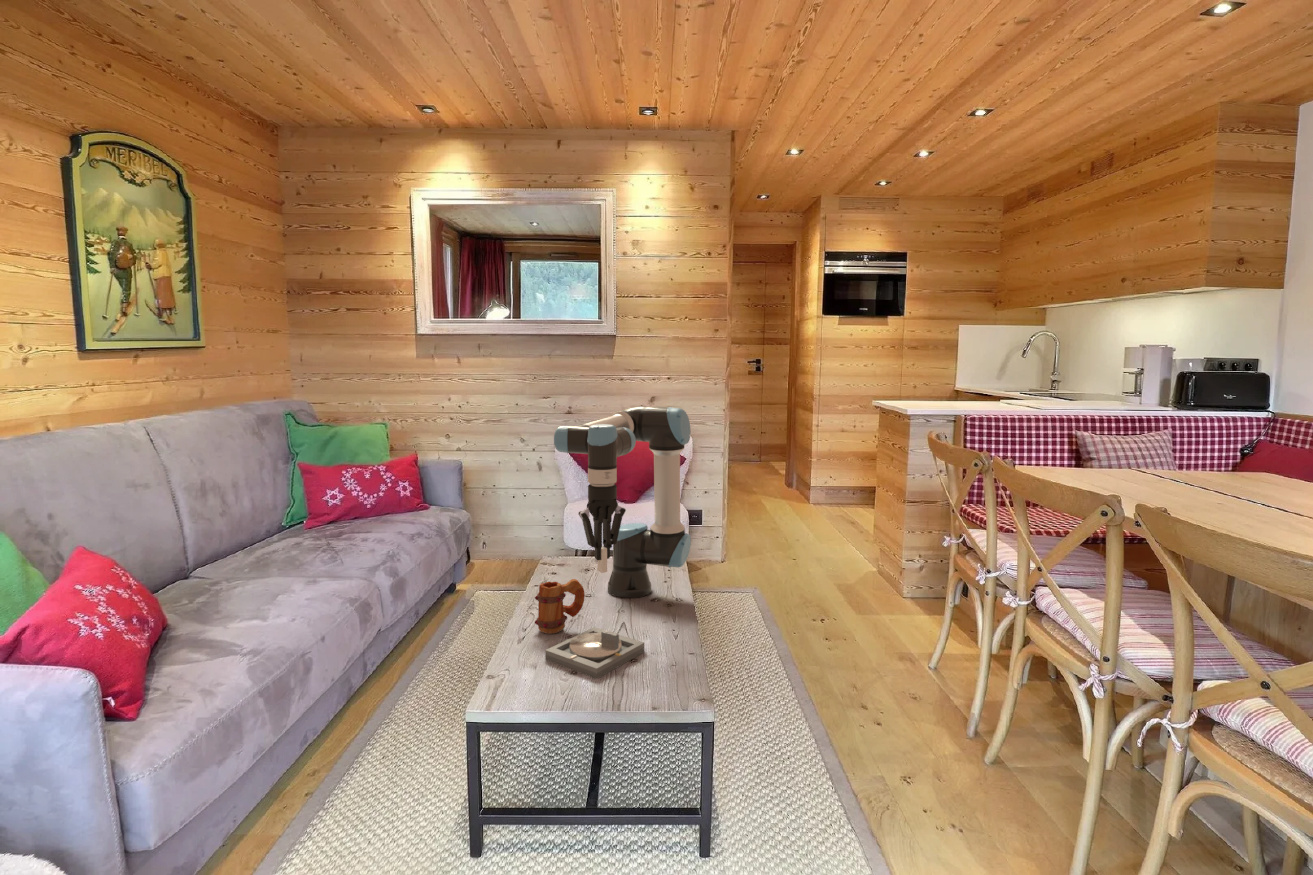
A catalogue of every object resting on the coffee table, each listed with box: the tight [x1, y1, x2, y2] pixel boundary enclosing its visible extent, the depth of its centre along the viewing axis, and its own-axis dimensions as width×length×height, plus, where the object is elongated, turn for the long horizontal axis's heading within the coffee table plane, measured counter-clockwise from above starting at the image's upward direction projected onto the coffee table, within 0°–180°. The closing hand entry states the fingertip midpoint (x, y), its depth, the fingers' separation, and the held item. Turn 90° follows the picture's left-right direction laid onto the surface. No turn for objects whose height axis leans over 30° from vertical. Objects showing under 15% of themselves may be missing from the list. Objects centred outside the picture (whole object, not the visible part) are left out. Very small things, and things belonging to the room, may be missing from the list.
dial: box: [570, 629, 622, 662], centre depth 185 cm, size 14×14×6 cm
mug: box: [534, 578, 586, 635], centre depth 202 cm, size 15×8×15 cm, turn 105°
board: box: [544, 626, 645, 680], centre depth 185 cm, size 20×18×3 cm
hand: (602, 570), depth 182 cm, fingers closed
